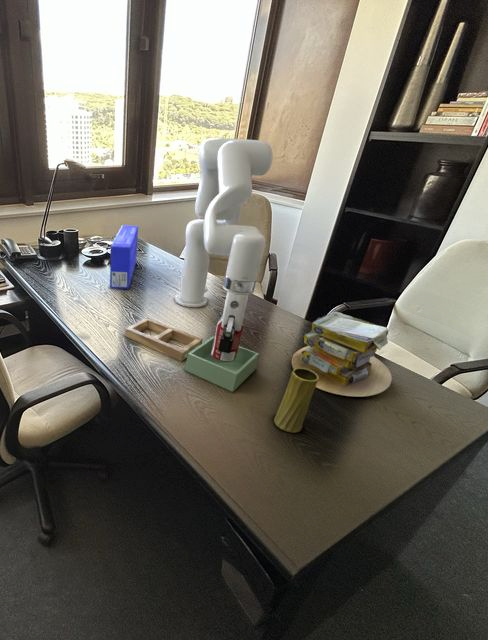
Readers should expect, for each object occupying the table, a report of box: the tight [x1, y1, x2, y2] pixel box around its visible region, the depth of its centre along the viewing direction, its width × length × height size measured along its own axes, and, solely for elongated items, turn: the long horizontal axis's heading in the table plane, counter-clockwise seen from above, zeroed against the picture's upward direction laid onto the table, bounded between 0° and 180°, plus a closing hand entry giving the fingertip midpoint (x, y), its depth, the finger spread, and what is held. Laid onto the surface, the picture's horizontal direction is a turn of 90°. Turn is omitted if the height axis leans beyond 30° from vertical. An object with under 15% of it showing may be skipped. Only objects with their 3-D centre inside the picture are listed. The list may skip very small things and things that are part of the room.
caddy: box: [124, 317, 204, 362], centre depth 119 cm, size 12×22×3 cm, turn 49°
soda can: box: [211, 315, 244, 363], centre depth 101 cm, size 7×7×12 cm
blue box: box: [109, 224, 139, 290], centre depth 170 cm, size 39×8×18 cm, turn 172°
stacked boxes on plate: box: [291, 311, 393, 398], centre depth 104 cm, size 25×25×17 cm
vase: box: [273, 368, 319, 434], centre depth 84 cm, size 6×6×14 cm
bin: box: [184, 335, 260, 393], centre depth 105 cm, size 15×15×6 cm
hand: (225, 344), depth 102 cm, fingers closed on soda can, 6 cm apart
